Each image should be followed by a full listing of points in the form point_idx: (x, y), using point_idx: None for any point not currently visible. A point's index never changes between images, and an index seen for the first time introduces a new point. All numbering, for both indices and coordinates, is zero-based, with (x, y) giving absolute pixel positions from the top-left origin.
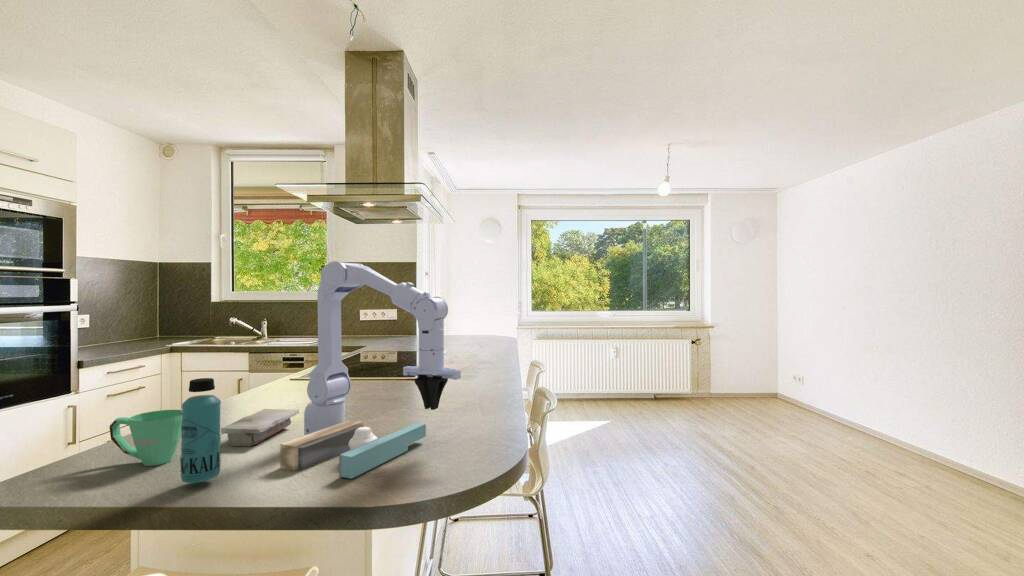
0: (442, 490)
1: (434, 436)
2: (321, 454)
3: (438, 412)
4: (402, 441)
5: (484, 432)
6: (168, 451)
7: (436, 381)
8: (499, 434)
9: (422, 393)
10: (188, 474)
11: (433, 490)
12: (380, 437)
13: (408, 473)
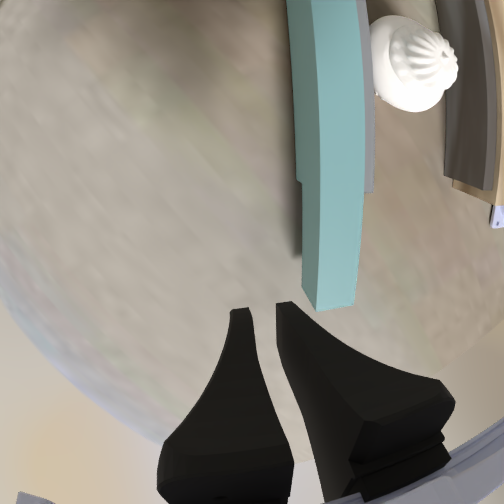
0: (11, 19)
1: None
2: (452, 18)
3: None
4: (309, 151)
5: None
6: None
7: (158, 472)
8: (156, 409)
9: (333, 351)
10: None
11: (29, 4)
12: (371, 82)
13: (155, 26)
